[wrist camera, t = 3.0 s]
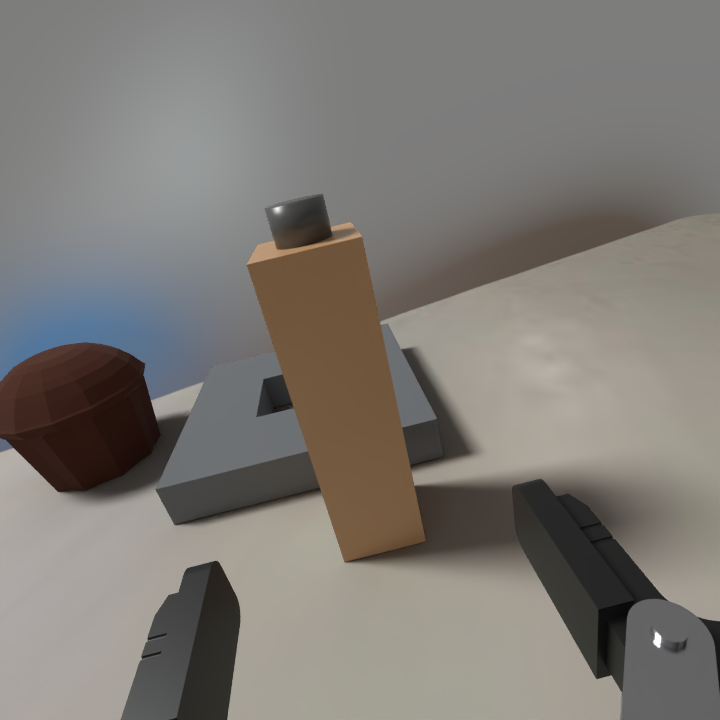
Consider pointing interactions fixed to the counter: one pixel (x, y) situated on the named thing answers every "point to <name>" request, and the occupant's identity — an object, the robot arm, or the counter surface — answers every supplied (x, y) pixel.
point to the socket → (267, 438)
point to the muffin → (78, 414)
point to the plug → (337, 374)
